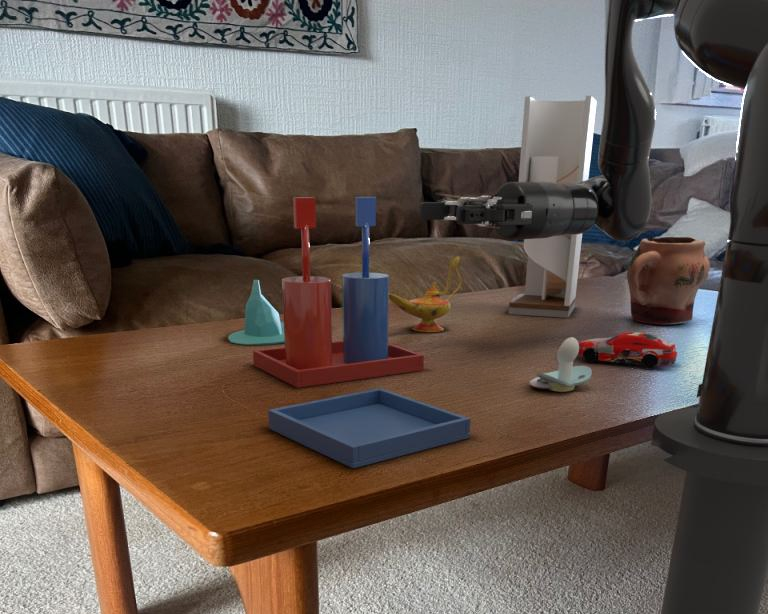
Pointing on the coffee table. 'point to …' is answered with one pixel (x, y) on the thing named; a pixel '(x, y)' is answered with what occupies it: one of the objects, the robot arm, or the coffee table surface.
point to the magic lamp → (428, 304)
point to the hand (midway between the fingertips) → (438, 213)
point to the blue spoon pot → (365, 299)
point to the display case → (561, 166)
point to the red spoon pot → (307, 303)
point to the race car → (629, 350)
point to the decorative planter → (666, 279)
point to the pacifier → (564, 370)
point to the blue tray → (368, 426)
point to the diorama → (259, 322)
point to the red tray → (337, 366)
